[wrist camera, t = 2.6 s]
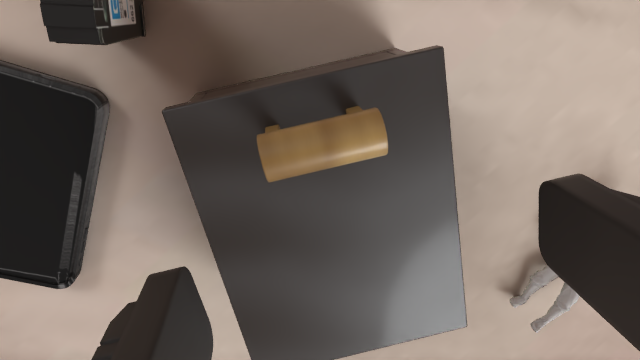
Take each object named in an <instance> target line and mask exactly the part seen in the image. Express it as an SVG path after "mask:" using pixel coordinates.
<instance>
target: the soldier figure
mask: <svg viewBox="0 0 640 360" xmlns="http://www.w3.org/2000/svg"><path fill="white" fill-rule="evenodd" d="M557 277H559V276H558V275H557V274H556V273H554V272H553V271H552V270H551V269H550V268H549V266H548V265H547V266H546V267H545V268H544V269H543V270H542V271H537V272H536V273H535V275H534V276H530V282H529V284H528V286H527V287H526V289H525V290H524V292H523V294H522V295H521V296H517V297H512V298H511V299H510V303H511V305H512V306H513V307H515V308H516V307H517V306H519V305H522V304H524V303H525V302H526V301H527V300H528V299H529V297H530V296H531V295H532V294H533V293H535V292H536V291H537V290H538V289H540V287H544V285H547V284H548V283H549V282H550V281H553V280H554V279H556V278H557ZM578 298H579V295H578V294H577V293H576V292H575V291H574V290H573V289H572V288H571V287H570V286H569V285H567V284H566V283H564V285H563V288H562V290H561V292H560V295H558V297H557V299H556V300H557V301H555V302H554V305H553V306H552V307H551V308H550V309H549V310H548V312H547V314H546V315H545V316H543V317H542V318H539V319H536V320H535V321H533V322H532V323H531V327H532V329H533V330H534V331H535V332H536V333H537V332H539V331H540V330H541V328H542V327H544V326H545V325H546V324H547V323H548V322H550V321H552V320H553V319H555V318H556V317H558V316H559V315H561V314H563V313H565V312H566V311H569V310H570V307H571V305H573V304H575V303H576V302H577V300H578Z"/></svg>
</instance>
